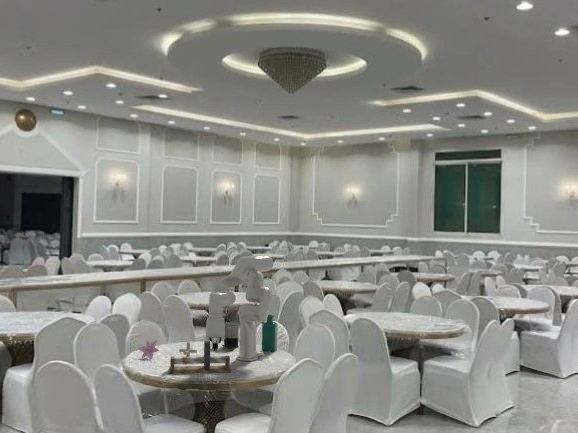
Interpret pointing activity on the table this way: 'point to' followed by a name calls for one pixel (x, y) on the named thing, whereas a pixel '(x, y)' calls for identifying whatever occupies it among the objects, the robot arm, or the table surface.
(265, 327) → the teal bottle
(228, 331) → the milk frother
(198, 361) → the pipe stand
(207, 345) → the dark grey tapered slab
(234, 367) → the table surface
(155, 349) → the lily
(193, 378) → the table surface
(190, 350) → the pipe connector
